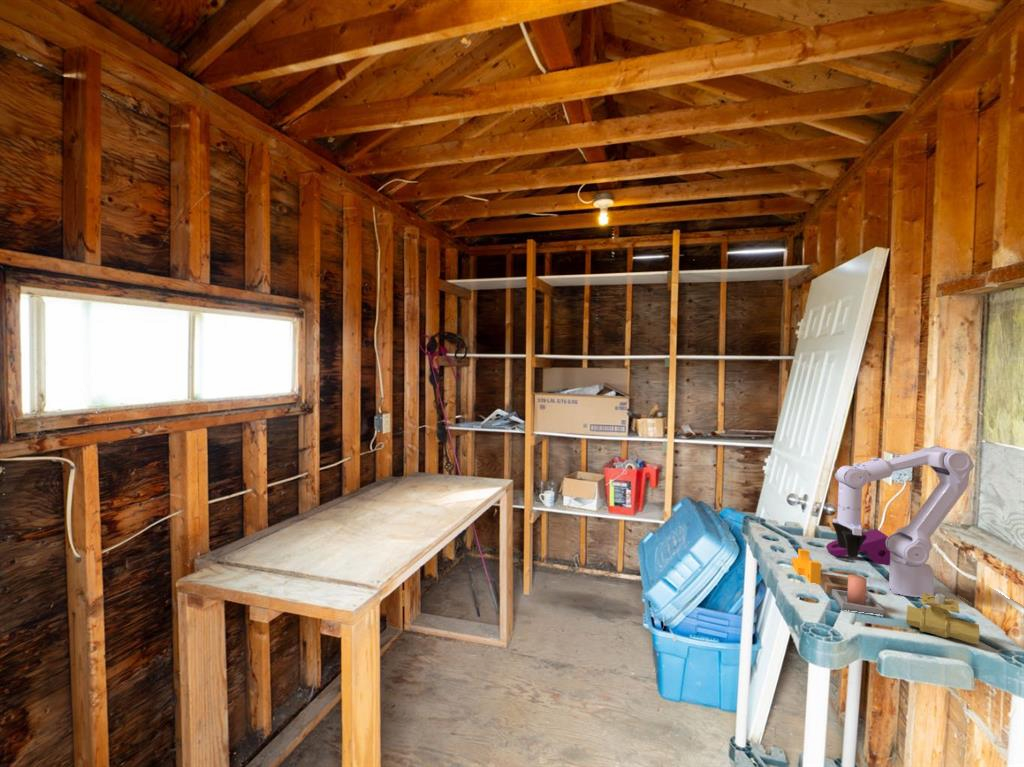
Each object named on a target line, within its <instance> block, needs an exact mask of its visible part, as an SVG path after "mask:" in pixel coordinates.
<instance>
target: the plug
mask: <svg viewBox="0 0 1024 767" xmlns="http://www.w3.org/2000/svg"><path fill="white" fill-rule="evenodd" d="M847 577H848V591H847V602H848V603H852V604H858V605H864V606H866V594H867V582H868V581H867V580H868V579H867V578H866V577H864V576H862V575H858V574H848V576H847Z"/></svg>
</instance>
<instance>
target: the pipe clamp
mask: <svg viewBox="0 0 1024 767" xmlns="http://www.w3.org/2000/svg"><path fill="white" fill-rule="evenodd" d="M810 556H811V555H810V551H809V550H808V549H807V548H806V549H805V548H798V550H797V557H791V568H792V567H793V568H794V569H795V571H796V572H797V574H799V575H798V576H800V575H804V576H803V577H806V578H807V579H806V578H805V579H806V580H807V581H808V582H810V583H816V584H815V585H817V584H818V585H819V586H821V585H820V577H821V573H822V571H821V570H822V563H821V562H820V561H819V560H813V559H812V560H811V559H810V558H811V557H810ZM793 568H792V569H793ZM795 571H794V572H795ZM796 572H795V573H796ZM797 574H796V575H797ZM810 583H809V584H810Z"/></svg>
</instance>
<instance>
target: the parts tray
mask: <svg viewBox="0 0 1024 767" xmlns="http://www.w3.org/2000/svg"><path fill="white" fill-rule="evenodd" d="M831 598H833V600H834V601H835V602H836V604H837V605H838V607H839V608H840V609H841V611H843V610H847V611H848V610H849V611H857V612H864V613H873V614H880V615H884V616H885V609H884V608H883V607H882V606H881V605H880V604H879V603H878V602H877V600H876V599H875V598H874V597H873V596H872V594H867V593H866V606H864V605H858V604H852V603H848V602H847V591H842V590H836V589H832V594H831ZM847 611H846V612H847ZM843 612H844V611H843Z"/></svg>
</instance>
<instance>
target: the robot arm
mask: <svg viewBox="0 0 1024 767" xmlns="http://www.w3.org/2000/svg"><path fill="white" fill-rule="evenodd" d="M921 466H929V467H930V468H931V469H932V470H933V471H934V473H935V474H936V476H937V477H938V481H939V482H938V484H937V485H936V486H935V488H934V489H933V491H931V493H930V495H929V496H928V498H927V499H926V500H925V502H924V503H923V504H922V505H921V507H920V508H919V510H918V511H917V512H916V513H915V515H914V516H913V517H912V519H911V520H910V522H909V523H908V524H907V525H905V526H901V527H899V528H898V529H897V530H896V531H895V532H894V533H892V534H890V535H887V536H888V538H887V539H886V547H887V549H888V550H889V551H890V564H889V572H888V573H889V574H888V575H889V577H888V578H889V579H888V581H883V582H882V584H883V585H885V587H887V588H888V589H889V590H890V589H891V590H890V591H891V592H892V594H894V593H895V594H894V595H898V594H900V595H899V596H905V597H911V598H917V597H920V598H919V599H922V592H923V593H927V594H931V595H933V596H935V594H934V593H935V572H934V570H933V567H932V566H931V565H930V564H928V563H927V562H928V560H929V558H930V552H931V550H932V549H933V543H932V541H931V537H932V536H933V535H934V533H935V531H937V529H938V527H939V526H940V525H941V524H942V523H943V521H944V519H946V518H947V516H948V514H949V513H950V512H951V511H952V509H953V508H954V506H955V505H956V504H957V502H958V501H959V500H960V498H961V497H962V495H963V494H964V493H965V492H966V491H967V489H968V487H969V482H970V474H971V471H972V470H973V469H974V468H975V464H974V462H973V460H972V458H971V456H970V455H969V453H967V452H966V451H964V450H959V449H951V448H948V447H943V446H940V445H934V446H930V447H923V448H920V449H919V450H916V451H913V452H909V453H906V454H904V455H901V456H896V457H893V458H890V459H888V460H886V459H884V458H881V457H879V458H877V457H871V458H870V460H868V461H867V460H866V461H864V462H861V463H859V462H853V465H852V466H851V465H842V466H841V467H839V469H837V471H836V472H835V473H834V477H835V479H836V481H837V482H838V490H837V515H836V518H832V523H831V524H832V527H833V528H834V531H835V534H836V538H837V539H836V540H838V544H839V547H840V548H846V550H847V555H846V556H848V557H851V558H857V557H858V555H859V553H860V552H859V550H860V547H861V545H862V543H863V542H864V540H865V539H866V538H867V536H866V535H864V534H862V533H863V529H862V527H863V526H862V506H863V488H864V487H865V486H866V485H867V484H868V483H871V482H876V481H879V480H883V479H887V478H891V476H892V475H893V473H894V472H896V471H902V470H906V469H911V468H915V467H921Z"/></svg>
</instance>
